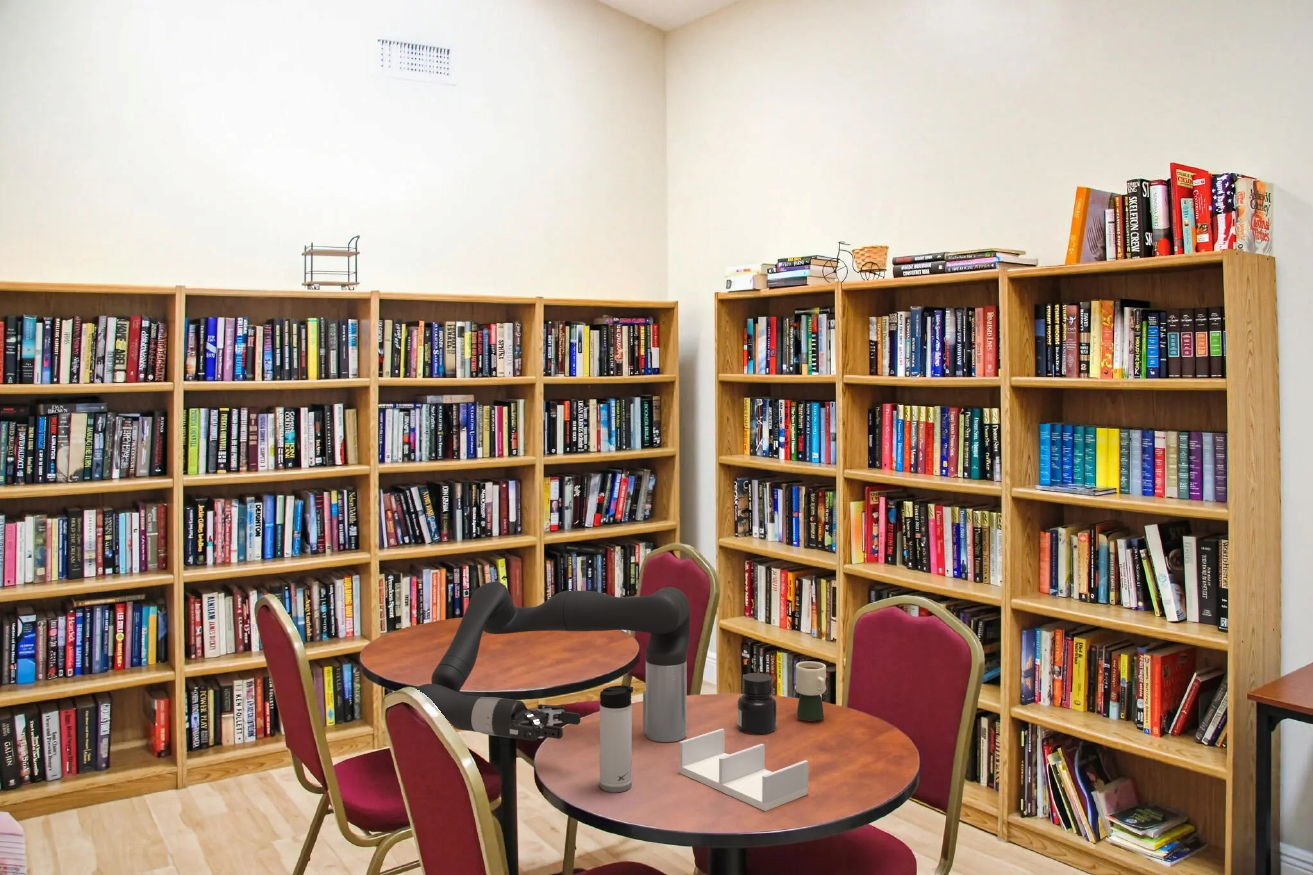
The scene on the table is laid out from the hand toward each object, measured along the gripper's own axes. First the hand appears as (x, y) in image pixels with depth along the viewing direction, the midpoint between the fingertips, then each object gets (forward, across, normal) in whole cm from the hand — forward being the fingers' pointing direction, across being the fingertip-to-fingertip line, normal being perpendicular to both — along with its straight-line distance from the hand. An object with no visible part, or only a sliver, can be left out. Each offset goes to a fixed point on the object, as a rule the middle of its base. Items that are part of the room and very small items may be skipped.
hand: (571, 725), depth 204 cm
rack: (+33, +10, +11) cm, 36 cm away
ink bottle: (+28, +41, +11) cm, 51 cm away
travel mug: (+10, 0, +11) cm, 15 cm away
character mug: (+38, +52, +11) cm, 65 cm away
